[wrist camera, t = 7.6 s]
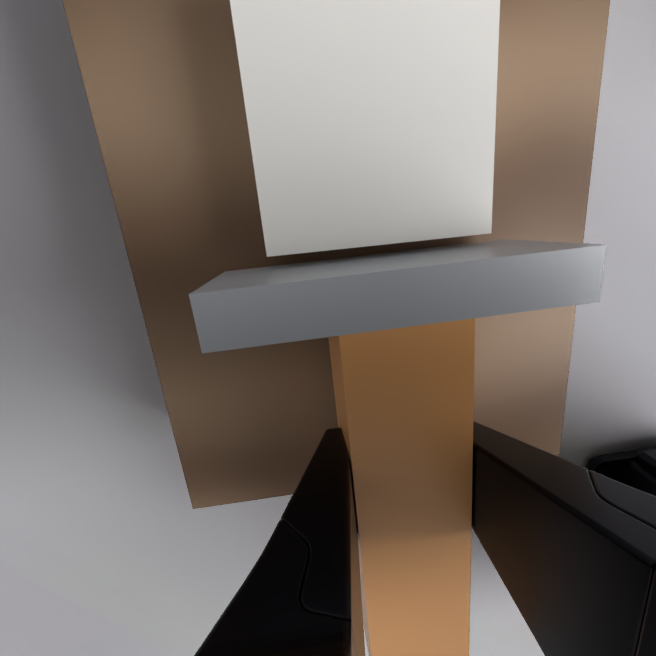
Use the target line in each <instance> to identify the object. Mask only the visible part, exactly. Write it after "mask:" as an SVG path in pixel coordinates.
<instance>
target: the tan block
mask: <svg viewBox="0 0 656 656" xmlns="http://www.w3.org/2000/svg"><path fill="white" fill-rule="evenodd" d="M62 1H63V5H64V9H65V13H66V16H67V20H68V24H69V28H70V32H71V36H72V40H73V44H74V48H75V52H76V55H77V59H78V63H79V67H80V71H81V75H82V79H83V83H84V87H85V90H86V94H87V98H88V102H89V106H90V110H91V114H92V118H93V122H94V126H95V129H96V133H97V137H98V141H99V145H100V149H101V153H102V157H103V161H104V164H105V168H106V172H107V176H108V180H109V184H110V188H111V192H112V196H113V199H114V203H115V207H116V211H117V215H118V219H119V223H120V227H121V231H122V235H123V238H124V242H125V246H126V250H127V254H128V258H129V262H130V266H131V270H132V273H133V277H134V281H135V285H136V289H137V293H138V297H139V301H140V305H141V308H142V312H143V316H144V320H145V324H146V328H147V332H148V336H149V340H150V344H151V347H152V351H153V355H154V359H155V363H156V367H157V371H158V375H159V379H160V382H161V386H162V390H163V394H164V398H165V402H166V406H167V410H168V414H169V418H170V421H171V425H172V429H173V433H174V437H175V441H176V445H177V449H178V453H179V456H180V460H181V464H182V468H183V472H184V476H185V480H186V484H187V488H188V491H189V495H190V499H191V503H192V507H193V509H196V508H203V507H209V506H216V505H223V504H230V503H236V502H243V501H250V500H257V499H264V498H270V497H277V496H284V495H291V494H294V492H295V490H296V488H297V486H298V484H299V482H300V480H301V478H302V476H303V474H304V472H305V470H306V468H307V466H308V464H309V462H310V460H311V458H312V456H313V454H314V452H315V450H316V448H317V446H318V445H319V443H320V441H321V439H322V437H323V435H324V433H325V431H326V430H327V429H331V428H338V421H337V411H336V402H335V393H334V384H333V375H332V366H331V357H330V348H329V339H328V337H325V338H318V339H310V340H302V341H295V342H287V343H279V344H271V345H264V346H256V347H248V348H240V349H233V350H225V351H217V352H210V353H202V351H201V347H200V342H199V338H198V334H197V329H196V325H195V320H194V316H193V311H192V307H191V302H190V298H189V294H190V293H192V292H193V291H195V290H196V289H198V288H200V287H201V286H203V285H204V284H206V283H208V282H209V281H211V280H212V279H214V278H215V277H217V276H219V275H220V274H222V273H223V272H225V271H233V270H242V269H251V268H259V267H268V266H276V265H285V264H294V263H302V262H311V261H320V260H328V259H337V258H346V257H354V256H363V255H371V254H380V253H389V252H397V251H406V250H415V249H423V248H432V247H441V246H449V245H458V244H466V243H475V242H484V241H492V240H501V239H511V240H530V241H549V242H567V243H583V239H584V230H585V221H586V212H587V203H588V194H589V185H590V176H591V167H592V158H593V149H594V140H595V131H596V122H597V113H598V104H599V95H600V87H601V78H602V69H603V60H604V51H605V42H606V33H607V24H608V15H609V6H610V0H500V19H499V46H498V72H497V99H496V125H495V152H494V178H493V205H492V231H491V233H490V234H480V235H471V236H461V237H452V238H442V239H433V240H423V241H413V242H404V243H394V244H385V245H375V246H366V247H356V248H347V249H337V250H328V251H318V252H309V253H299V254H289V255H280V256H270V257H267V255H266V248H265V241H264V234H263V227H262V220H261V214H260V207H259V200H258V193H257V186H256V179H255V172H254V165H253V158H252V151H251V144H250V137H249V130H248V123H247V116H246V110H245V103H244V96H243V89H242V82H241V75H240V68H239V61H238V54H237V47H236V40H235V33H234V26H233V19H232V12H231V6H230V0H62ZM575 311H576V305H573V306H565V307H557V308H549V309H542V310H534V311H526V312H518V313H511V314H503V315H495V316H488V317H480V318H475V360H474V415H473V421H475V422H477V423H479V424H482V425H484V426H487V427H489V428H491V429H494V430H496V431H498V432H501V433H503V434H506V435H508V436H510V437H513V438H515V439H518V440H520V441H522V442H525V443H527V444H529V445H532V446H534V447H537V448H539V449H541V450H544V451H546V452H549V453H551V454H553V455H559V454H560V445H561V436H562V427H563V418H564V409H565V400H566V391H567V382H568V373H569V364H570V355H571V346H572V337H573V328H574V319H575Z"/></svg>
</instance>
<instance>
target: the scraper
mask: <svg viewBox="0 0 656 656" xmlns="http://www.w3.org/2000/svg"><path fill="white" fill-rule="evenodd" d="M606 248H607V245H605V244H586V243H567V242H549V241H530V240H511V239H501V240H492V241H484V242H475V243H466V244H458V245H449V246H441V247H432V248H423V249H415V250H406V251H397V252H389V253H380V254H371V255H363V256H354V257H346V258H337V259H328V260H320V261H311V262H302V263H294V264H285V265H276V266H268V267H259V268H251V269H242V270H233V271H225V272H223V273H222V274H220V275H219V276H217V277H215V278H214V279H212V280H211V281H209V282H208V283H206V284H204V285H203V286H201V287H200V288H198V289H196V290H195V291H193V292H192V293H190V294H189V298H190V302H191V307H192V311H193V316H194V320H195V325H196V329H197V334H198V338H199V342H200V347H201V351H202V353H210V352H217V351H225V350H233V349H240V348H248V347H256V346H264V345H271V344H279V343H287V342H295V341H302V340H310V339H318V338H325V337H328V339H329V348H330V357H331V366H332V375H333V384H334V393H335V402H336V411H337V421H338V427H341V428H342V432H343V435H344V439H345V442H346V446H347V449H348V453H349V457H350V463H351V473H352V482H353V492H354V502H355V512H356V522H357V532H358V547H359V564H360V580H361V597H362V613H363V624H364V630H365V635H366V641H367V647H368V652H369V656H469V634H470V579H471V525H472V470H473V415H474V360H475V318H480V317H488V316H495V315H503V314H511V313H518V312H526V311H534V310H542V309H549V308H557V307H565V306H573V305H580V304H588V303H596V302H600V296H601V288H602V280H603V272H604V264H605V256H606Z"/></svg>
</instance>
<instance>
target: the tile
mask: <svg viewBox="0 0 656 656" xmlns="http://www.w3.org/2000/svg"><path fill="white" fill-rule="evenodd" d="M230 6H231V12H232V19H233V26H234V33H235V40H236V47H237V54H238V61H239V68H240V75H241V82H242V89H243V96H244V103H245V110H246V116H247V123H248V130H249V137H250V144H251V151H252V158H253V165H254V172H255V179H256V186H257V193H258V200H259V207H260V214H261V220H262V227H263V234H264V241H265V248H266V255H267V257H270V256H280V255H289V254H299V253H309V252H318V251H328V250H337V249H347V248H356V247H366V246H375V245H385V244H394V243H404V242H413V241H423V240H433V239H442V238H452V237H461V236H471V235H480V234H490V233H491V231H492V205H493V178H494V152H495V125H496V99H497V72H498V46H499V19H500V0H230Z"/></svg>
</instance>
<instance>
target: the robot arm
mask: <svg viewBox="0 0 656 656" xmlns="http://www.w3.org/2000/svg"><path fill="white" fill-rule="evenodd" d="M471 526H472V528H473V530H474V531H475V533H476V535H477V537H478V538H479V540H480V542H481V544H482V545H483V547H484V549H485V551H486V552H487V554H488V556H489V558H490V560H491V561H492V563H493V565H494V567H495V568H496V570H497V572H498V574H499V575H500V577H501V579H502V581H503V582H504V584H505V586H506V588H507V589H508V591H509V593H510V595H511V597H512V598H513V600H514V602H515V604H516V605H517V607H518V609H519V611H520V612H521V614H522V616H523V618H524V619H525V621H526V623H527V625H528V626H529V628H530V630H531V632H532V634H533V635H534V637H535V639H536V641H537V642H538V644H539V646H540V648H541V649H542V651H543V653H544V655H545V656H656V448H650V449H643V450H637V451H630V452H623V453H616V454H610V455H603V456H597V457H594V458H593V459H591V460H590V461H589V463H588V465H587V468H584V467H582V466H580V465H577V464H575V463H572V462H570V461H568V460H565V459H563V458H561V457H558V456H556V455H553V454H551V453H549V452H546V451H544V450H541V449H539V448H537V447H534V446H532V445H529V444H527V443H525V442H522V441H520V440H518V439H515V438H513V437H510V436H508V435H506V434H503V433H501V432H498V431H496V430H494V429H491V428H489V427H487V426H484V425H482V424H479V423H477V422H475V421H473V470H472V525H471ZM194 656H365V646H364V629H363V613H362V597H361V580H360V564H359V547H358V532H357V522H356V512H355V502H354V492H353V482H352V473H351V463H350V457H349V453H348V449H347V446H346V442H345V439H344V435H343V432H342V428H341V427H338V428H331V429H327V430H326V431H325V433H324V435H323V437H322V439H321V441H320V443H319V445H318V446H317V448H316V450H315V452H314V454H313V456H312V458H311V460H310V462H309V464H308V466H307V468H306V470H305V472H304V474H303V476H302V478H301V480H300V482H299V484H298V486H297V488H296V490H295V492H294V494H293V496H292V497H291V499H290V501H289V503H288V505H287V507H286V509H285V511H284V513H283V515H282V517H281V520H280V521H279V523H278V525H277V527H276V529H275V530H274V532H273V534H272V536H271V538H270V540H269V542H268V544H267V545H266V547H265V549H264V551H263V553H262V554H261V556H260V558H259V559H258V561H257V562H256V564H255V566H254V567H253V569H252V570H251V572H250V573H249V575H248V576H247V578H246V580H245V581H244V583H243V584H242V586H241V587H240V589H239V590H238V592H237V593H236V595H235V596H234V598H233V599H232V600H231V602H230V603H229V605H228V606H227V608H226V609H225V611H224V612H223V614H222V615H221V617H220V618H219V620H218V621H217V623H216V624H215V626H214V627H213V629H212V630H211V632H210V633H209V635H208V636H207V638H206V639H205V641H204V642H203V644H202V645H201V647H200V648H199V649H198V651H197V652H196V654H195V655H194Z"/></svg>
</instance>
